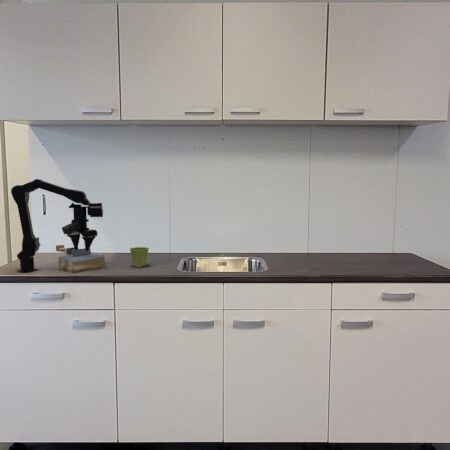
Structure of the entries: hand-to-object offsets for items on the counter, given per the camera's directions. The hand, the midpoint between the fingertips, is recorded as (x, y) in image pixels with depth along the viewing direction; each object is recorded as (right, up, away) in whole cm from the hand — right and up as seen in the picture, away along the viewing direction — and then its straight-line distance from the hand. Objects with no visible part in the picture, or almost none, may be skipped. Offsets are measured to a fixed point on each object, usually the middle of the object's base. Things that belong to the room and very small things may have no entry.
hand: (81, 249), depth 175 cm
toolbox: (-1, -9, +2) cm, 9 cm away
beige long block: (-12, -2, +9) cm, 15 cm away
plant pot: (+27, -9, +5) cm, 29 cm away
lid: (0, -5, 0) cm, 5 cm away
